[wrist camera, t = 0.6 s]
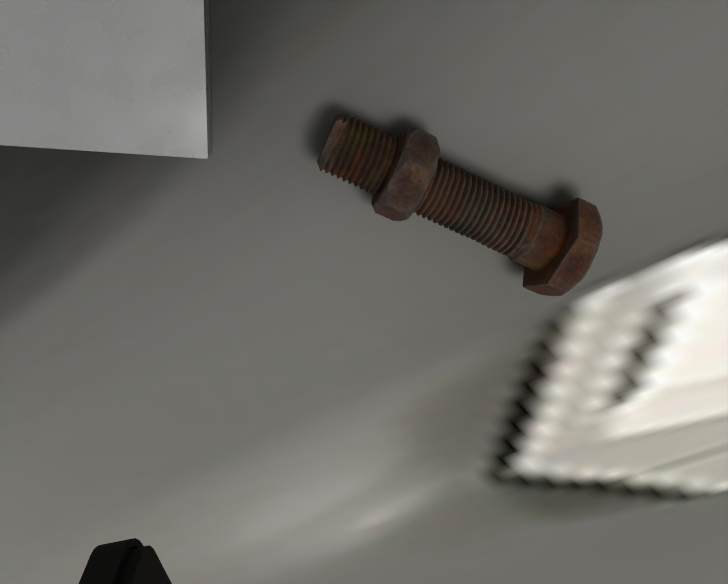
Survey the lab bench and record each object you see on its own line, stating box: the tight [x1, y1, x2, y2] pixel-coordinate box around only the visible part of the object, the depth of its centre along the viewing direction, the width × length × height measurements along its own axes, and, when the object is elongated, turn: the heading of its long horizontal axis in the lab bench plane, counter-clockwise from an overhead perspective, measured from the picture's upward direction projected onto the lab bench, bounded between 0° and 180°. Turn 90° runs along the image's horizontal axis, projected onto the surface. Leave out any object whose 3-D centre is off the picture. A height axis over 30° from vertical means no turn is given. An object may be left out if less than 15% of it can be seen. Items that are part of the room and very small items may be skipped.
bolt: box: [317, 114, 603, 296], centre depth 35 cm, size 6×5×15 cm
